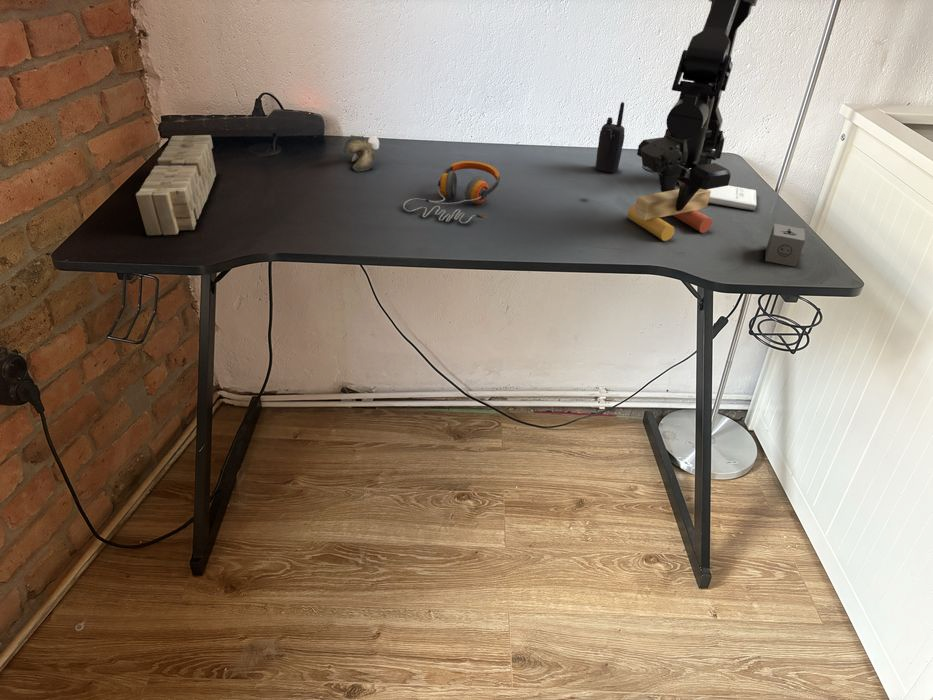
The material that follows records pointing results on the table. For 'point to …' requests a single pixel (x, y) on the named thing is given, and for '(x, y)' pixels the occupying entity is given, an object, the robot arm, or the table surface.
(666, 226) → the ochre rod
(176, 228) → the block tower
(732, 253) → the table surface
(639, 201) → the light wooden bar
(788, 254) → the dice cube
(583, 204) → the table surface
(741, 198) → the hard drive
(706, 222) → the terracotta rod
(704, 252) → the table surface
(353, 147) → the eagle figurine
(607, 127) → the two-way radio
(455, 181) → the headphones
